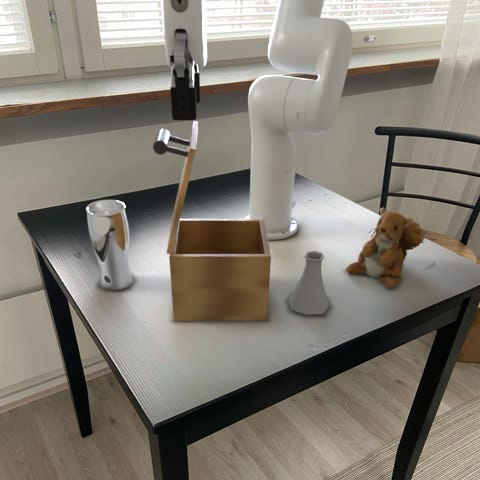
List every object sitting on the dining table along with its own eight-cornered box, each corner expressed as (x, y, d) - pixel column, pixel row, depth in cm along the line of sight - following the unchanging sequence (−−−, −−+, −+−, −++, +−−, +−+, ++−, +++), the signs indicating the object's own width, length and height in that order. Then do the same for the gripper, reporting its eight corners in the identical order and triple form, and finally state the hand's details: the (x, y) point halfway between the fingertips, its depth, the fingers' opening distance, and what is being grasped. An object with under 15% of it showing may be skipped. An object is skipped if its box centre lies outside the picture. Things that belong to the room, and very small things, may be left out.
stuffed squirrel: (342, 273, 98) (352, 211, 90) (380, 250, 106) (392, 190, 98) (386, 293, 92) (401, 229, 85) (423, 267, 101) (440, 205, 93)
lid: (198, 122, 78) (162, 111, 77) (195, 149, 67) (153, 138, 66) (177, 216, 88) (144, 208, 86) (171, 254, 76) (133, 246, 75)
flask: (327, 319, 86) (335, 268, 80) (285, 313, 87) (290, 263, 81) (329, 296, 91) (337, 247, 85) (290, 291, 92) (295, 243, 86)
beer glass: (100, 272, 96) (88, 199, 87) (136, 272, 97) (128, 198, 88) (95, 292, 91) (81, 216, 82) (133, 291, 91) (124, 215, 82)
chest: (260, 278, 96) (264, 218, 89) (266, 320, 85) (271, 256, 77) (178, 278, 95) (174, 218, 88) (173, 321, 84) (169, 256, 77)
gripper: (210, -38, 53) (211, 128, 63) (214, -39, 67) (215, 97, 77) (139, -40, 53) (152, 127, 63) (158, -41, 67) (166, 96, 77)
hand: (187, 110), depth 70 cm, fingers open, 9 cm apart
